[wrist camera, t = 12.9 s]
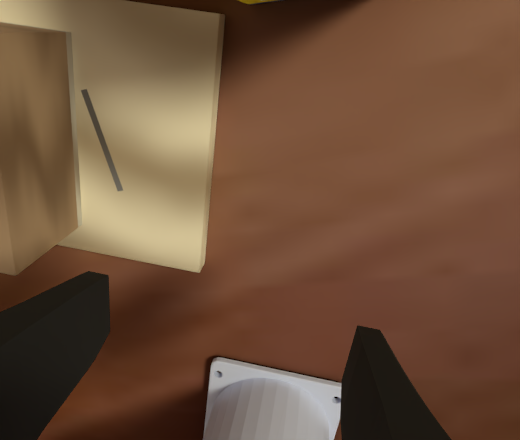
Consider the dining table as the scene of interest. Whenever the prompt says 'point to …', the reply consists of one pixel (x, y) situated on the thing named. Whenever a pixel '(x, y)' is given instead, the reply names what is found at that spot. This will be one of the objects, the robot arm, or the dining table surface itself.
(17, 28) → the block
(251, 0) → the supplement box
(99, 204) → the birch board
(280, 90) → the dining table surface
